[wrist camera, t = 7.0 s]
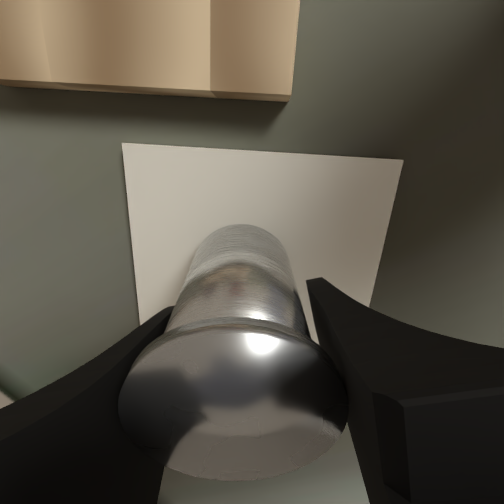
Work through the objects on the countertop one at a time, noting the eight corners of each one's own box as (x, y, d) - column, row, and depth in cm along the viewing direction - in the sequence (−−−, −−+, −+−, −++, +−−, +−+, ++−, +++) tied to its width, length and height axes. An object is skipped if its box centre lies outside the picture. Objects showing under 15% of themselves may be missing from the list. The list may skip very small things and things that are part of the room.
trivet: (397, 159, 12) (403, 159, 11) (348, 373, 16) (351, 381, 16) (128, 143, 12) (121, 142, 12) (148, 356, 16) (144, 364, 16)
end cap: (285, 201, 11) (331, 308, 5) (307, 301, 13) (359, 463, 7) (166, 232, 12) (71, 365, 5) (206, 323, 14) (171, 492, 8)
